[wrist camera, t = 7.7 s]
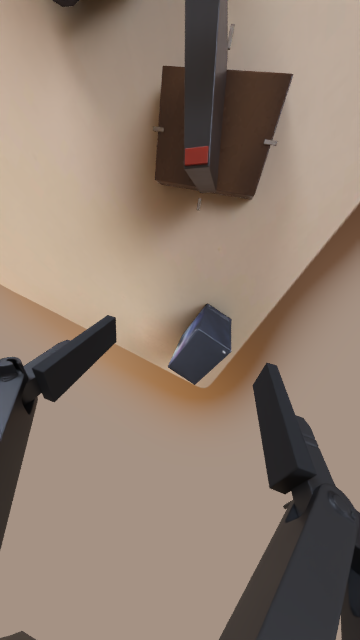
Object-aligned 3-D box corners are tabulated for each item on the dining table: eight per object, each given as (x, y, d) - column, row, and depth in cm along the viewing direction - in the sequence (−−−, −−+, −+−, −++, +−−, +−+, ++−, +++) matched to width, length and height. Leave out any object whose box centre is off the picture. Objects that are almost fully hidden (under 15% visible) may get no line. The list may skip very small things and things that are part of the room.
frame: (206, 63, 17) (184, -108, 9) (227, 59, 17) (227, -128, 8) (200, 193, 23) (183, 168, 14) (216, 192, 22) (209, 165, 13)
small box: (205, 301, 32) (197, 327, 23) (232, 318, 33) (234, 351, 24) (180, 335, 38) (165, 367, 29) (203, 350, 38) (195, 386, 29)
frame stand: (304, 53, 17) (316, 25, 15) (248, 221, 25) (251, 219, 22) (167, 47, 19) (159, 22, 17) (155, 203, 27) (149, 201, 24)
